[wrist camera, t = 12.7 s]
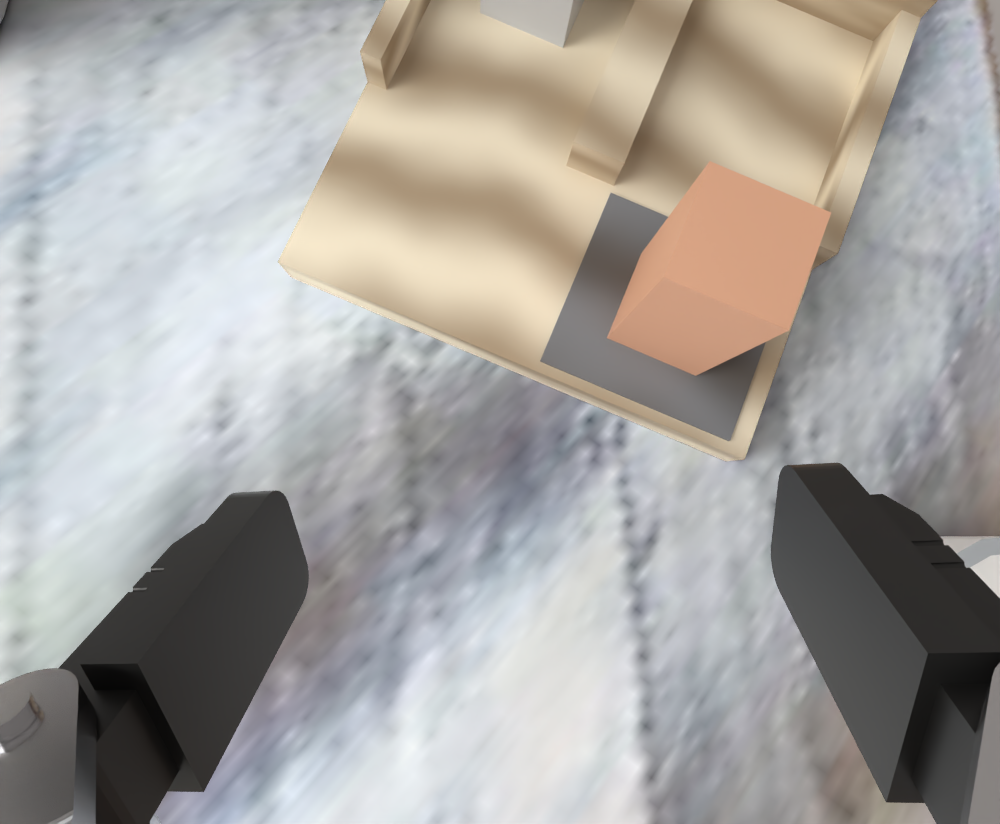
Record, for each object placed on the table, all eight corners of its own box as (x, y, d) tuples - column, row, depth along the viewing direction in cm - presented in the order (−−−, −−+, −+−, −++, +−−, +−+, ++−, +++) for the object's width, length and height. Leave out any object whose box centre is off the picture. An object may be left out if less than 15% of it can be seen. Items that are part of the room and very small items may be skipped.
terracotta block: (695, 375, 27) (788, 330, 19) (606, 338, 27) (663, 277, 19) (727, 290, 28) (831, 212, 20) (641, 253, 28) (709, 161, 20)
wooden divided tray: (725, 461, 29) (778, 456, 24) (290, 277, 29) (254, 234, 24) (870, 60, 32) (943, -17, 27) (479, -105, 32) (481, -212, 27)
